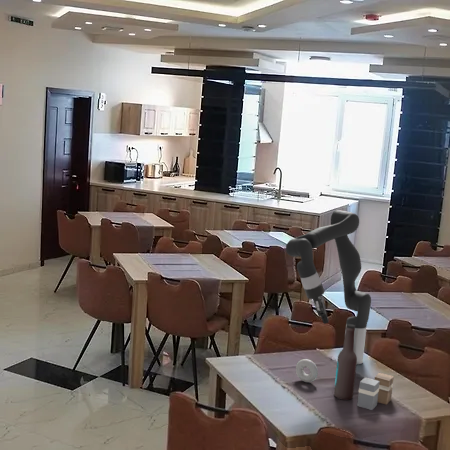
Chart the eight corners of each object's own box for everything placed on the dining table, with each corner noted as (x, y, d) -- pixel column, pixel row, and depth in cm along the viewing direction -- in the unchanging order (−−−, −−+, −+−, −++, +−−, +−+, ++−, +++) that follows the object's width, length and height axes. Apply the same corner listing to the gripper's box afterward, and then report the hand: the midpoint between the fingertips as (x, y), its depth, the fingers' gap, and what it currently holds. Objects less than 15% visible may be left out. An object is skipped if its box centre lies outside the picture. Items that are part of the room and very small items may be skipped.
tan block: (376, 395, 278) (379, 372, 277) (391, 399, 275) (394, 376, 274) (371, 400, 273) (374, 376, 271) (386, 404, 270) (389, 380, 268)
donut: (293, 379, 288) (295, 357, 287) (296, 377, 291) (299, 355, 290) (314, 386, 283) (316, 363, 282) (318, 383, 286) (320, 361, 284)
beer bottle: (339, 391, 280) (346, 320, 275) (356, 396, 276) (363, 325, 271) (330, 396, 274) (337, 324, 270) (347, 402, 270) (354, 329, 265)
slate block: (362, 400, 272) (364, 377, 270) (377, 405, 269) (380, 381, 267) (356, 405, 267) (359, 381, 265) (372, 410, 264) (375, 385, 262)
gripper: (320, 287, 269) (334, 326, 272) (321, 276, 281) (335, 313, 285) (302, 292, 271) (316, 331, 274) (304, 281, 283) (318, 318, 287)
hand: (326, 322), depth 279 cm, fingers closed
